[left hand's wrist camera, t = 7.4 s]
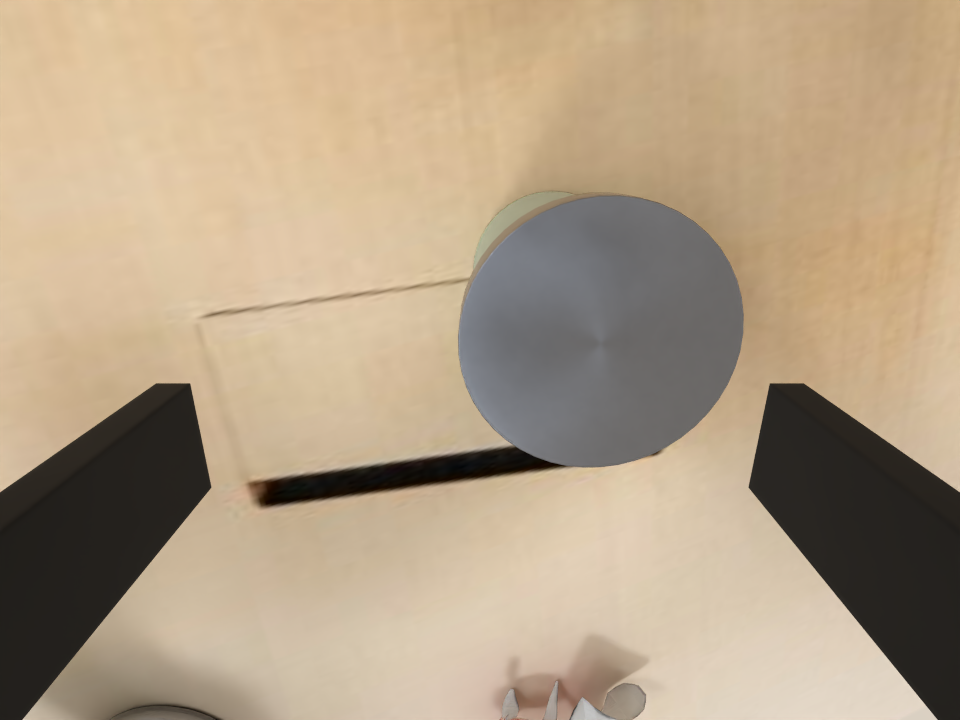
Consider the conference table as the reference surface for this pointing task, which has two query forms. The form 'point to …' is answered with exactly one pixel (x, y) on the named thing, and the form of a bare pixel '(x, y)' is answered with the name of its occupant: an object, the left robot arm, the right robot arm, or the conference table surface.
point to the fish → (588, 705)
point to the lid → (599, 329)
